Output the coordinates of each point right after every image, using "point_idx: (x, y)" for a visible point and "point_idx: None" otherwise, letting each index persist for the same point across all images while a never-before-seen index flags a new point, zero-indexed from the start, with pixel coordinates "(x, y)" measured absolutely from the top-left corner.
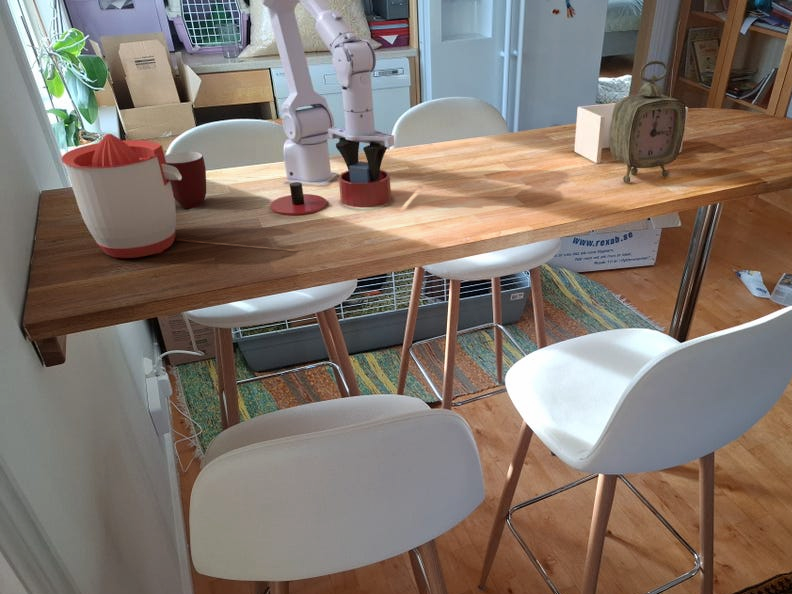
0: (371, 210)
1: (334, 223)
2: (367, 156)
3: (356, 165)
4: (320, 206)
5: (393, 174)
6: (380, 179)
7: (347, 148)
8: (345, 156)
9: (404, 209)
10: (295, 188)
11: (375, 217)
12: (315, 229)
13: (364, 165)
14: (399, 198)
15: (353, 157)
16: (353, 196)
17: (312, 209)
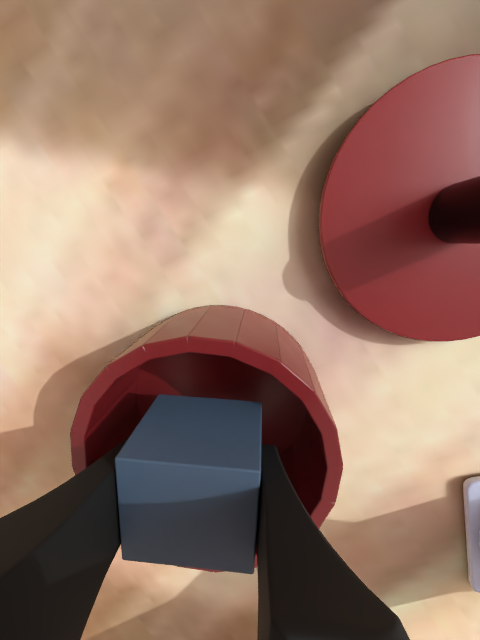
0: (148, 323)
1: (193, 126)
2: (33, 537)
3: (221, 498)
4: (329, 221)
5: None
6: None
7: (265, 625)
8: (290, 537)
9: (53, 377)
10: None
11: (90, 264)
12: (226, 11)
13: (176, 515)
14: None
15: (261, 568)
16: (199, 317)
17: (345, 169)
